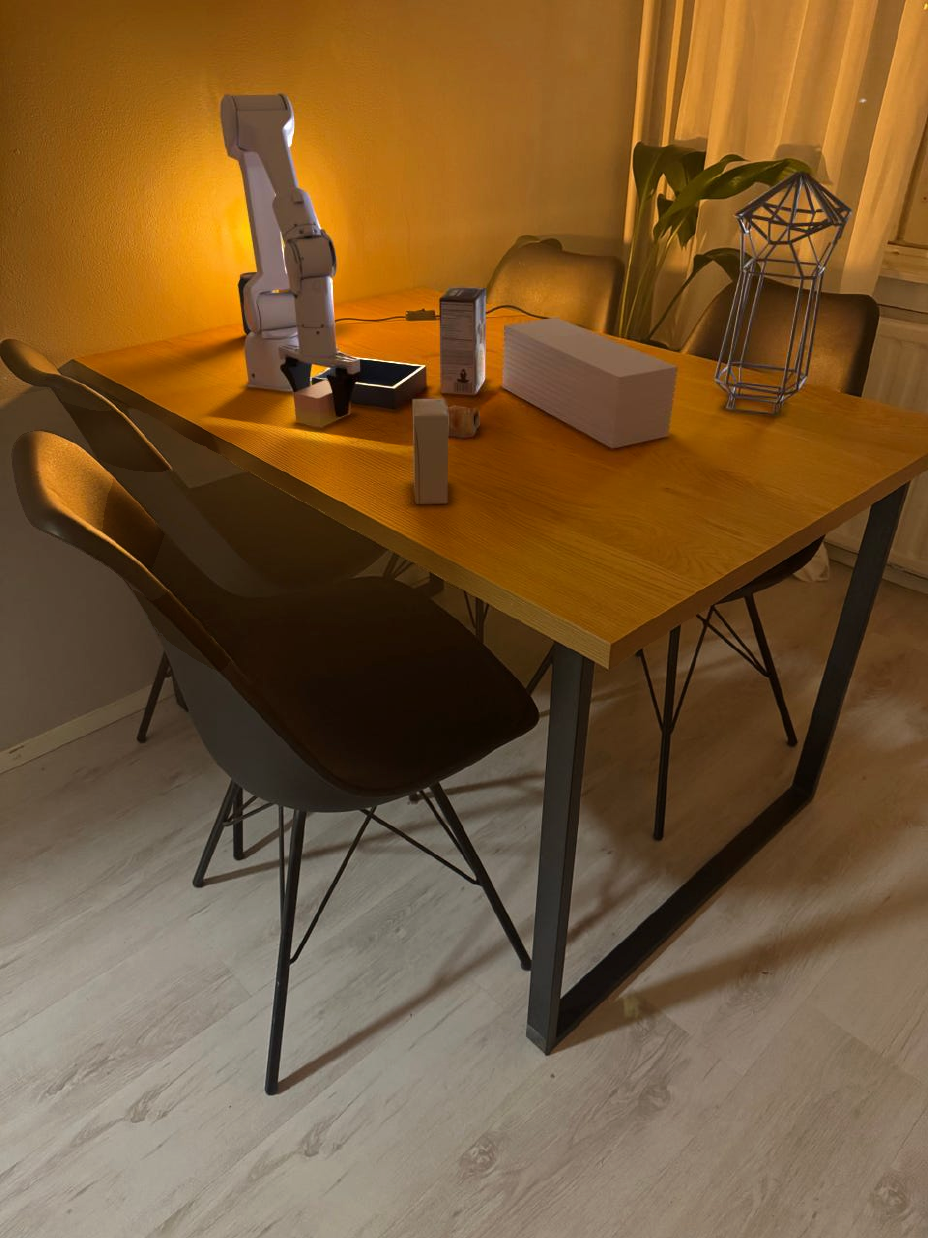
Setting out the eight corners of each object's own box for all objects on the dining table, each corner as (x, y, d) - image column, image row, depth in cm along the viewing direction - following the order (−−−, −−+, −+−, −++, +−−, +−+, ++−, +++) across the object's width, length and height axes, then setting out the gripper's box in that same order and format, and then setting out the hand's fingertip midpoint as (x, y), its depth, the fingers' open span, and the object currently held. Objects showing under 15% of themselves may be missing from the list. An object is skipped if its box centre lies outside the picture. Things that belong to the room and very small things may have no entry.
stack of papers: (502, 387, 153) (504, 324, 147) (553, 378, 157) (556, 317, 151) (611, 448, 129) (619, 377, 123) (668, 436, 134) (678, 366, 128)
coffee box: (450, 378, 157) (450, 285, 148) (485, 380, 156) (487, 286, 147) (439, 394, 150) (438, 297, 141) (476, 397, 149) (477, 299, 140)
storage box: (313, 400, 147) (311, 377, 145) (349, 377, 157) (348, 356, 155) (395, 411, 142) (394, 388, 140) (426, 387, 153) (426, 365, 151)
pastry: (414, 434, 134) (413, 410, 132) (425, 420, 139) (424, 396, 137) (474, 439, 132) (474, 415, 130) (482, 424, 138) (483, 401, 136)
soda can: (251, 330, 184) (243, 270, 178) (282, 331, 183) (276, 271, 177) (239, 339, 178) (231, 277, 172) (272, 340, 177) (265, 278, 171)
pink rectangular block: (296, 423, 138) (293, 392, 135) (327, 409, 143) (324, 379, 141) (320, 429, 136) (317, 398, 133) (351, 415, 141) (349, 385, 138)
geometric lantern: (719, 385, 154) (756, 163, 135) (812, 399, 148) (864, 169, 129) (698, 413, 142) (735, 173, 123) (798, 428, 136) (853, 180, 117)
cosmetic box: (413, 485, 118) (410, 397, 112) (446, 484, 118) (445, 397, 112) (415, 505, 113) (412, 414, 106) (449, 504, 113) (449, 414, 107)
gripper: (370, 324, 131) (375, 411, 138) (296, 311, 137) (304, 395, 145) (340, 334, 126) (347, 425, 133) (265, 320, 132) (275, 407, 140)
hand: (323, 410), depth 139 cm, fingers open, 7 cm apart
